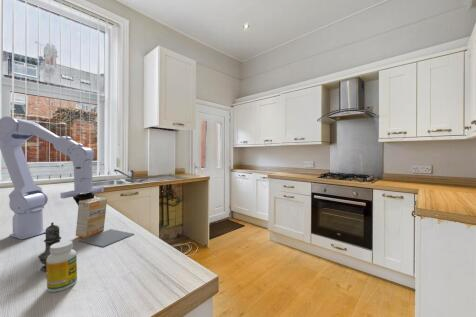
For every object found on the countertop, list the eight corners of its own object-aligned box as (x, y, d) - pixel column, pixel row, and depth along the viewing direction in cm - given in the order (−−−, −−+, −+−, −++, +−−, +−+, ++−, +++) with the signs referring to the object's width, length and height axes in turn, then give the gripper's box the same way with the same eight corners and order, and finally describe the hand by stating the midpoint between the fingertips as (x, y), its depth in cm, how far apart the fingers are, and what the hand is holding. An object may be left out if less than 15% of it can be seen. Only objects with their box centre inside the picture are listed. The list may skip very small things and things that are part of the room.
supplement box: (85, 238, 76) (89, 203, 76) (74, 236, 77) (78, 200, 77) (104, 230, 84) (107, 198, 84) (94, 228, 85) (97, 196, 85)
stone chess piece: (43, 274, 53) (41, 227, 53) (35, 268, 56) (33, 223, 56) (71, 264, 58) (70, 221, 58) (62, 259, 61) (61, 217, 61)
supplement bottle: (53, 281, 51) (52, 241, 50) (80, 276, 52) (79, 238, 52) (41, 295, 45) (40, 250, 45) (72, 289, 47) (71, 247, 47)
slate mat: (78, 241, 74) (78, 240, 74) (110, 229, 85) (110, 229, 85) (103, 247, 69) (103, 246, 69) (134, 234, 80) (134, 233, 80)
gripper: (68, 181, 73) (69, 220, 74) (108, 176, 87) (109, 209, 87) (56, 180, 76) (57, 217, 77) (97, 176, 90) (97, 208, 90)
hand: (84, 213), depth 82 cm, fingers closed
